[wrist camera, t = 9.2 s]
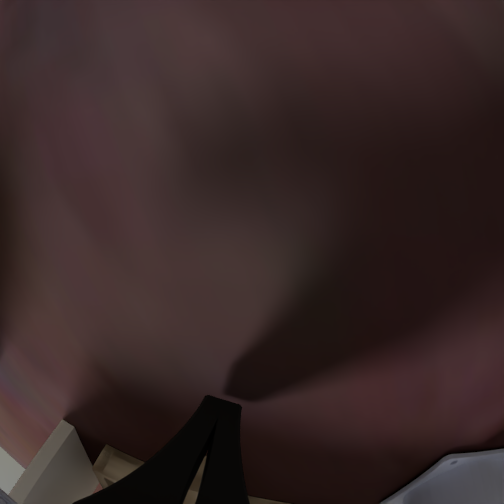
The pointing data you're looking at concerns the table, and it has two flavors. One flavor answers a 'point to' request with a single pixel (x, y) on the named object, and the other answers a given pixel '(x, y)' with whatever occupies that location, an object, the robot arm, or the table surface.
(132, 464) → the serving board
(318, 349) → the table surface
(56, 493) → the shelf
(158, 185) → the table surface
